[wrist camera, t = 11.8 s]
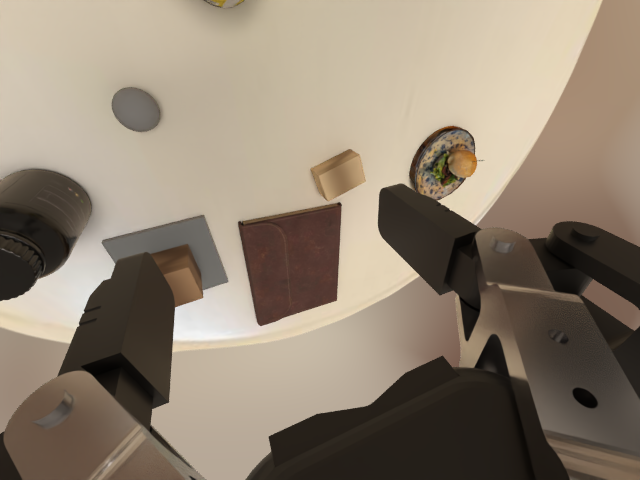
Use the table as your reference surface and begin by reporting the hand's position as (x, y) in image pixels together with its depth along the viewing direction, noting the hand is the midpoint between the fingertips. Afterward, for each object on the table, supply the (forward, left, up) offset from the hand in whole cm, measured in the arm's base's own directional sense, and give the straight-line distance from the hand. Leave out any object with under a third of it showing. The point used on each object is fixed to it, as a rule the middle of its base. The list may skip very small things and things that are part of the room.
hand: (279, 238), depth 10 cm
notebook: (-6, +23, -26) cm, 35 cm away
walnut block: (+10, +16, -25) cm, 31 cm away
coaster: (+10, +16, -25) cm, 32 cm away
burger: (-33, +12, -26) cm, 43 cm away
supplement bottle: (+17, +5, -25) cm, 31 cm away
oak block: (-14, +9, -25) cm, 30 cm away
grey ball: (+6, -2, -23) cm, 24 cm away
